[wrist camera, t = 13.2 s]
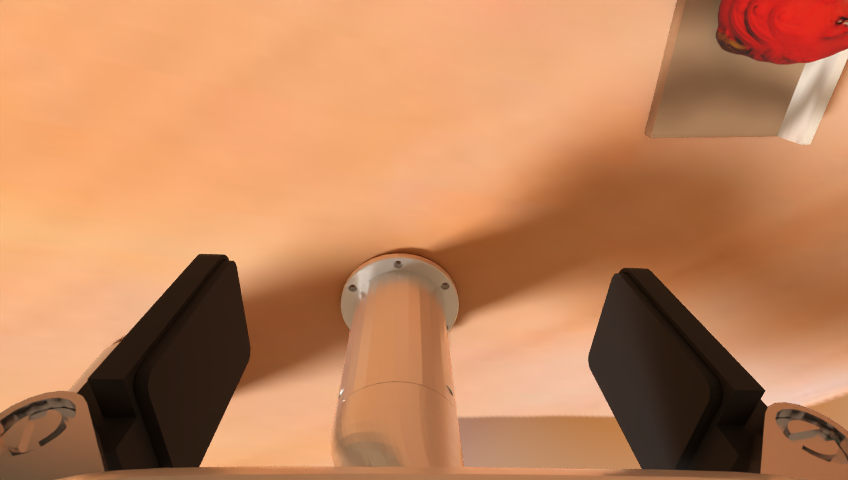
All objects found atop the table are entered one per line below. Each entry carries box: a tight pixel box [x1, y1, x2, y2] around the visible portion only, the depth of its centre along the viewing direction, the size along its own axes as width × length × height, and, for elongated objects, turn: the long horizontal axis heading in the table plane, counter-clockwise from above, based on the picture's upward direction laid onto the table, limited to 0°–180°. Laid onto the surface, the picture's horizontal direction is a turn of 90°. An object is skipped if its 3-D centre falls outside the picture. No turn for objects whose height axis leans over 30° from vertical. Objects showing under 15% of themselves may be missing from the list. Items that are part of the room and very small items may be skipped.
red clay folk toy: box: [715, 0, 848, 65], centre depth 26 cm, size 8×7×15 cm
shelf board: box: [645, 0, 848, 145], centre depth 32 cm, size 20×12×4 cm, turn 0°
